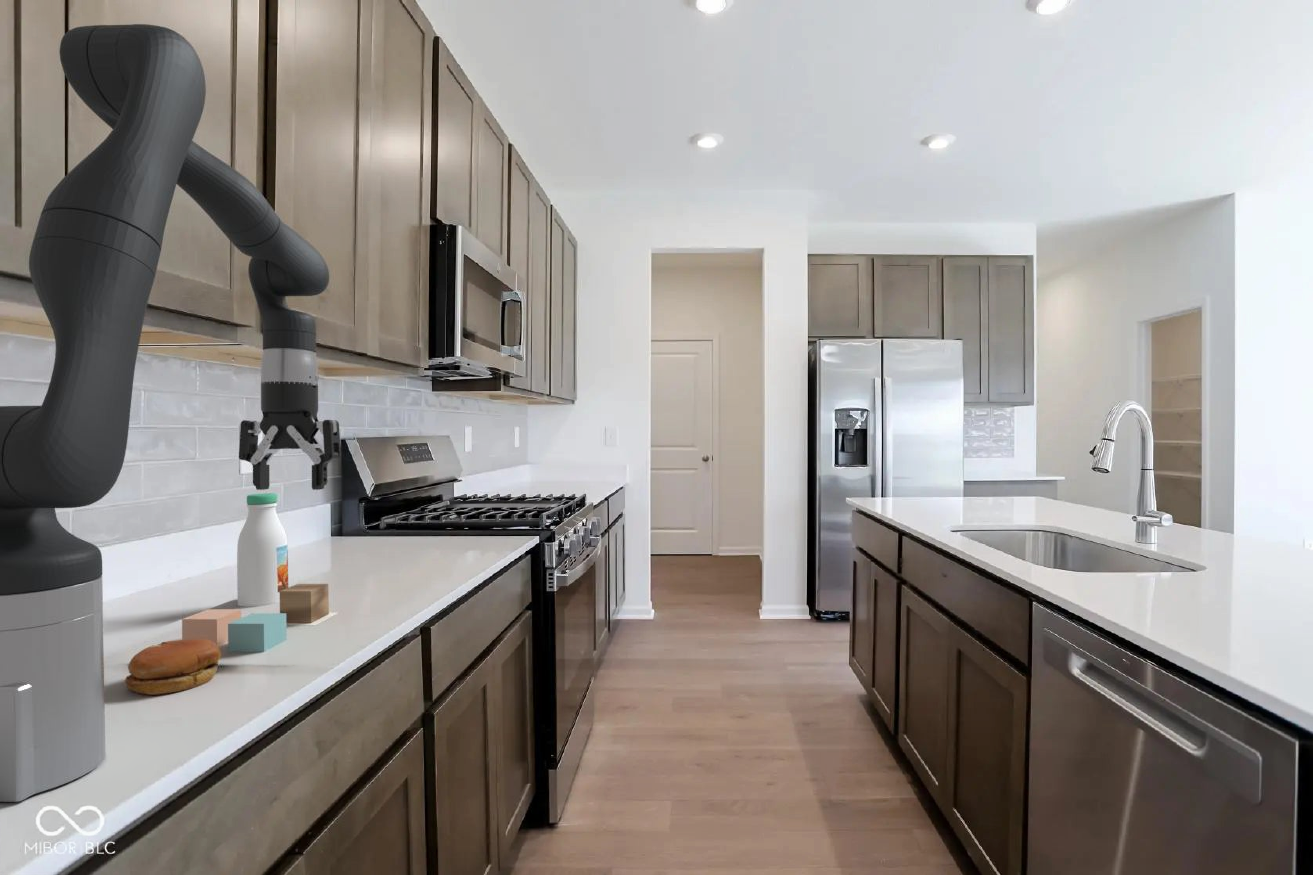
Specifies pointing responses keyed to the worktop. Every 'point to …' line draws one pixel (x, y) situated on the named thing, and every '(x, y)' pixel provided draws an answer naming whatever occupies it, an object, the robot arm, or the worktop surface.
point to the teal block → (257, 632)
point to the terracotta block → (210, 625)
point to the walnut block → (304, 602)
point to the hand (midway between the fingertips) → (290, 489)
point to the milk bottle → (261, 554)
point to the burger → (173, 666)
